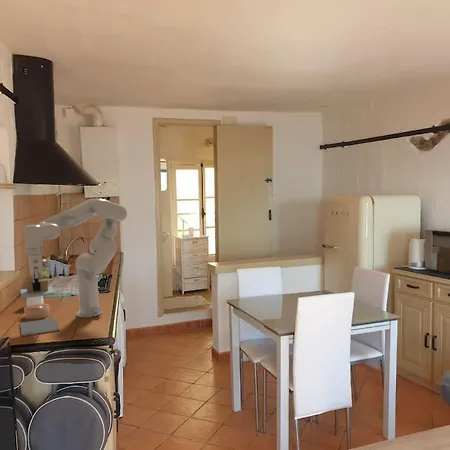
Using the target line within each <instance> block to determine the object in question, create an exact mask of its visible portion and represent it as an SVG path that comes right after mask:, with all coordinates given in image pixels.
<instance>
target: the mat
mask: <svg viewBox="0 0 450 450" xmlns="http://www.w3.org/2000/svg"><path fill="white" fill-rule="evenodd" d="M19 328H21V329H20V333H21V337H22V336H24V337H26V336H25V335H31V334H37V333H43V334H46V333H45V332H50V333H53V332H52V331H56V332H58V331H57V330H59V331H60V328H59V325H58V323H57V320H56V318H55V317H52V318H43V319H36V320H30V321H23V322H19ZM37 335H38V334H37ZM31 336H32V335H31Z"/></svg>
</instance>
